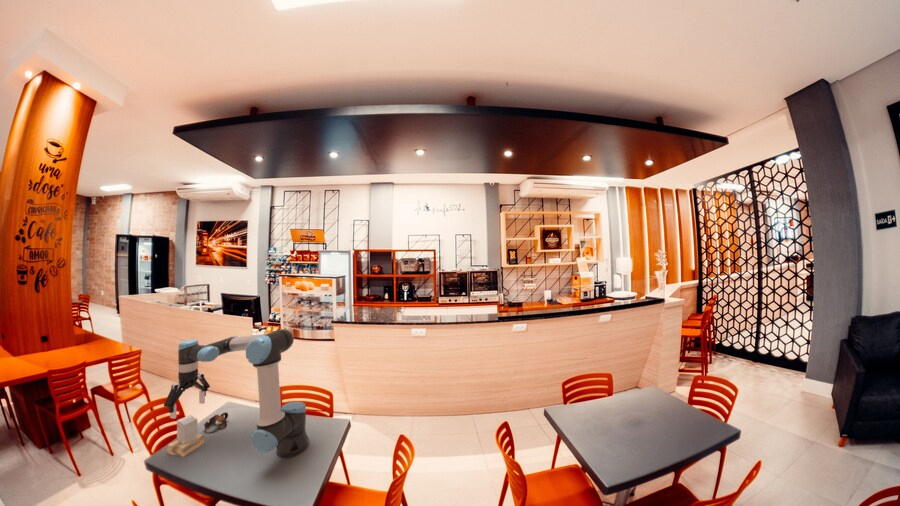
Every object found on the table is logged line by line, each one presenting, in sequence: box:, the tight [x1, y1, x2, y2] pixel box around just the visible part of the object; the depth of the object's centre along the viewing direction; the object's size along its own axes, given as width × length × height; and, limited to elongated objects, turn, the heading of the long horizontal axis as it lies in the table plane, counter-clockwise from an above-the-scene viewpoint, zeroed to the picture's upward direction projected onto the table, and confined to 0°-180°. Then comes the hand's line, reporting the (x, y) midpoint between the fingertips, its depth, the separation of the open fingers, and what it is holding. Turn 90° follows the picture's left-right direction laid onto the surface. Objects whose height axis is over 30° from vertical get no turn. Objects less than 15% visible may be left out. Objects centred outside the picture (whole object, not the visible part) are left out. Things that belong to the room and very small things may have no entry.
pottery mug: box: [203, 412, 229, 431], centre depth 163 cm, size 12×10×8 cm
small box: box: [176, 414, 198, 445], centre depth 145 cm, size 8×6×10 cm
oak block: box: [166, 433, 205, 458], centre depth 145 cm, size 10×10×5 cm
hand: (188, 410), depth 145 cm, fingers open, 13 cm apart
